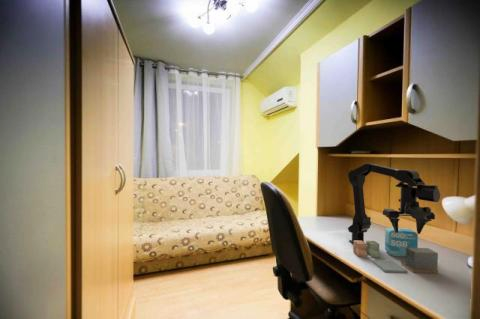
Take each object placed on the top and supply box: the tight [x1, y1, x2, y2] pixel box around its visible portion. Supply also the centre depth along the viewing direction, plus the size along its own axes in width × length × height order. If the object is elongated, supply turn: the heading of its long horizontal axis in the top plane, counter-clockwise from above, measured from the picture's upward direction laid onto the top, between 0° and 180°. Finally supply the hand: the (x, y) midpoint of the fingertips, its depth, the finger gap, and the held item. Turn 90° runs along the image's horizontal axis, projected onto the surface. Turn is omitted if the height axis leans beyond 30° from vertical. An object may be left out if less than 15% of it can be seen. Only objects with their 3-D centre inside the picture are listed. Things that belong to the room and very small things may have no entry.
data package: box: [384, 227, 419, 258], centre depth 108 cm, size 12×4×12 cm, turn 77°
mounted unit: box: [400, 247, 440, 274], centre depth 94 cm, size 7×10×8 cm
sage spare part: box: [365, 240, 380, 258], centre depth 107 cm, size 4×4×6 cm
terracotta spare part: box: [352, 240, 367, 257], centre depth 107 cm, size 4×4×6 cm
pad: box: [371, 259, 408, 274], centre depth 95 cm, size 9×9×1 cm
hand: (407, 233), depth 100 cm, fingers open, 9 cm apart
